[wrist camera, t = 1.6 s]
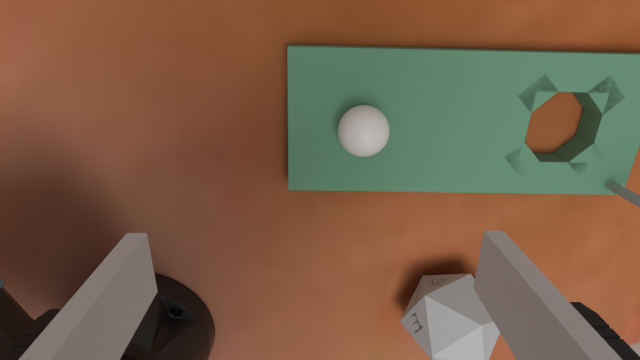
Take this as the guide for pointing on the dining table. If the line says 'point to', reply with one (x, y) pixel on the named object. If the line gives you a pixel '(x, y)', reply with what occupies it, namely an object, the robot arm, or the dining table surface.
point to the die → (450, 319)
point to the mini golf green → (461, 119)
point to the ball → (363, 130)
